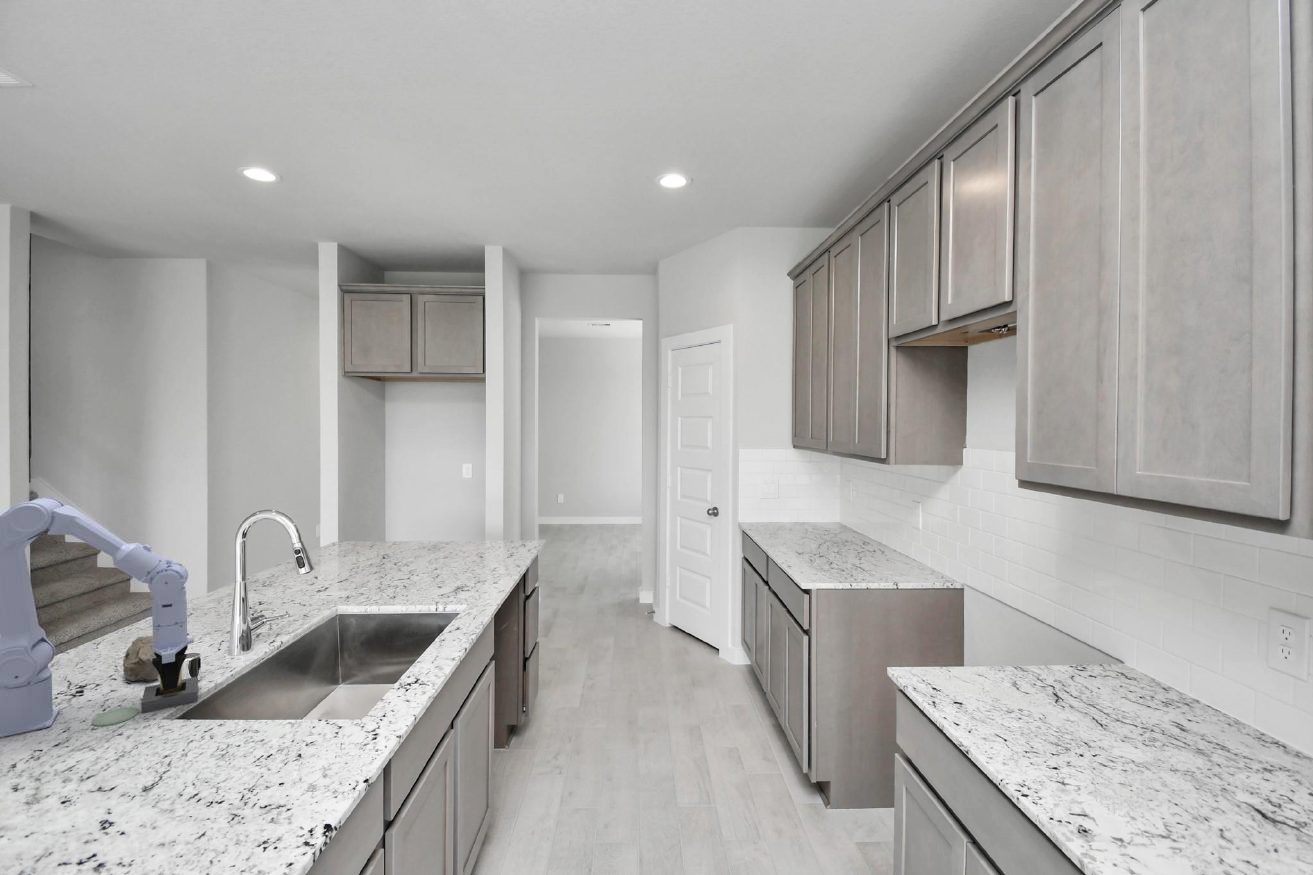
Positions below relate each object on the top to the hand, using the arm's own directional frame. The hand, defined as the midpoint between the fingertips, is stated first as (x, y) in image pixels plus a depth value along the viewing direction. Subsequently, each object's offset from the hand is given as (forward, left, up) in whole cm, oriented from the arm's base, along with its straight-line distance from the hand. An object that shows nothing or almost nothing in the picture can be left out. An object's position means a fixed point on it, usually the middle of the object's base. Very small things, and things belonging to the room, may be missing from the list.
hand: (171, 685), depth 127 cm
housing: (0, 0, -3) cm, 3 cm away
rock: (-6, +19, -3) cm, 20 cm away
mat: (-9, -3, -3) cm, 10 cm away
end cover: (0, 0, -3) cm, 3 cm away
